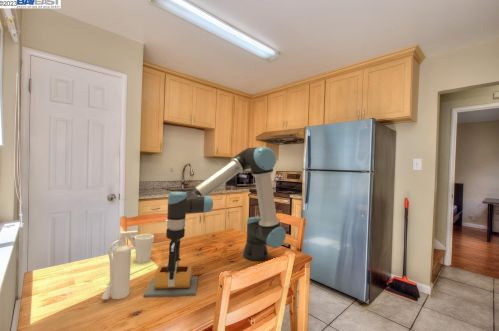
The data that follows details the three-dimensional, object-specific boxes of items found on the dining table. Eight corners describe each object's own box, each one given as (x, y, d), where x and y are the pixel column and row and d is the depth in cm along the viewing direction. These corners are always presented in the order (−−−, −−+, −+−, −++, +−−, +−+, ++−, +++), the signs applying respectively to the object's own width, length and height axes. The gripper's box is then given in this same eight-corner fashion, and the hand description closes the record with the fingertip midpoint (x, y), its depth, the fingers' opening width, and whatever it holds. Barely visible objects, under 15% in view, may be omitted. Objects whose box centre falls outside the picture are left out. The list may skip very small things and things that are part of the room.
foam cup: (145, 265, 120) (146, 240, 120) (129, 263, 121) (130, 238, 121) (156, 258, 129) (157, 234, 129) (141, 256, 131) (142, 233, 131)
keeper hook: (176, 283, 102) (177, 259, 102) (175, 286, 100) (176, 262, 99) (164, 283, 101) (165, 259, 101) (163, 286, 99) (164, 262, 99)
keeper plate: (197, 278, 109) (197, 276, 109) (195, 295, 95) (195, 292, 95) (152, 279, 106) (152, 277, 106) (143, 297, 92) (143, 294, 92)
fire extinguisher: (96, 298, 89) (102, 233, 90) (128, 287, 99) (133, 228, 99) (103, 305, 85) (110, 237, 86) (136, 293, 95) (142, 231, 95)
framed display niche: (191, 278, 106) (191, 264, 106) (189, 287, 98) (190, 273, 98) (158, 279, 103) (159, 265, 103) (154, 288, 96) (154, 274, 95)
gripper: (171, 221, 110) (168, 270, 110) (161, 235, 90) (158, 294, 90) (187, 222, 111) (185, 269, 111) (181, 235, 91) (178, 294, 91)
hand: (173, 280), depth 101 cm, fingers closed on framed display niche, 8 cm apart
